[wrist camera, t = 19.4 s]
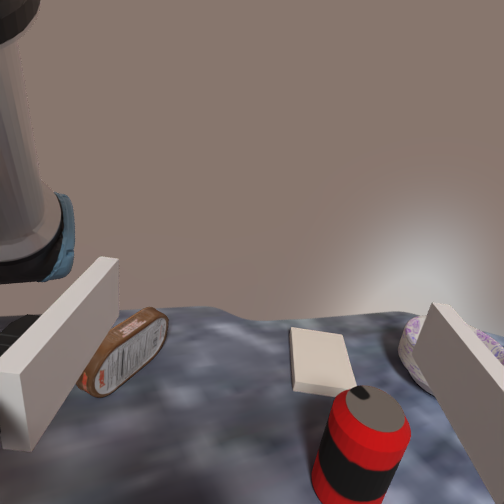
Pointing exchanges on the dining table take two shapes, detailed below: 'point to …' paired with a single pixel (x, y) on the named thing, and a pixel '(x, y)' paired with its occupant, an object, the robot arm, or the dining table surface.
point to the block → (319, 363)
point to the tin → (124, 352)
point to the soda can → (360, 447)
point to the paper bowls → (410, 340)
